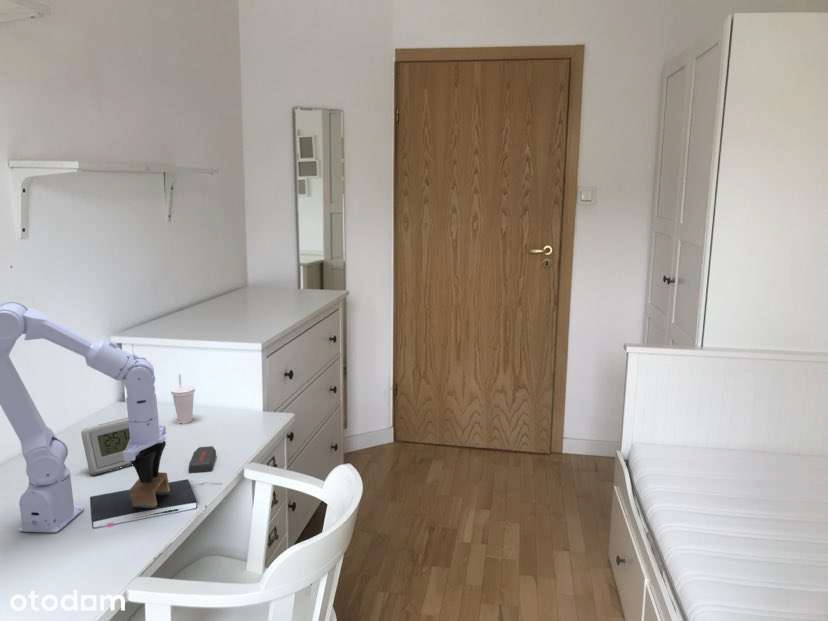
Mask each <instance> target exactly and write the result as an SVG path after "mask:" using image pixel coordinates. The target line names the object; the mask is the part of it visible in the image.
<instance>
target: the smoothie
mask: <svg viewBox="0 0 828 621" xmlns="http://www.w3.org/2000/svg"><path fill="white" fill-rule="evenodd" d="M178 383H179V384H178V385H179V386H175V387H174V388H172V389H171V390H170V395H172V399H173V402H174V407H175V413H176V417H177V422H179V423H178V424H180V423H187V424H189V423H188V422H190V423H192V422H193V415H194V413H193V411H194V399H195V398H194V396H195V395H194V393H195V392H196V390H195V387H194V386H192V385H182V375H181V374H180V373H179V374H178ZM191 421H192V422H191Z"/></svg>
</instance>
